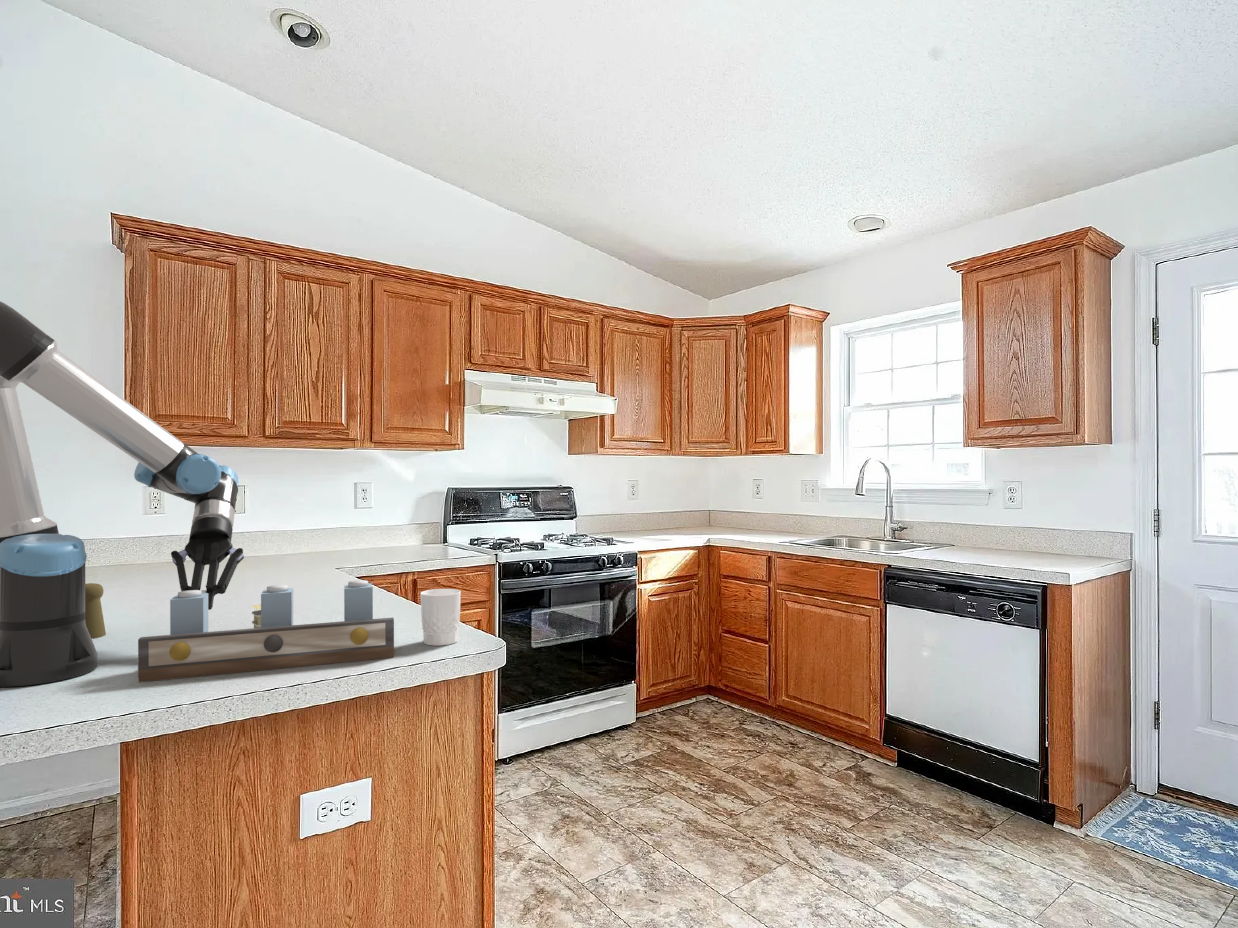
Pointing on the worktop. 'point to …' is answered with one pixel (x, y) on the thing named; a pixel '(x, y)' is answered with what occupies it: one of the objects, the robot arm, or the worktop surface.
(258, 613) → the stacked layers on plate
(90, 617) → the cork
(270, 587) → the middle plunger
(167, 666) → the button console
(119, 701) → the worktop surface
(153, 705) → the worktop surface
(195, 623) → the left plunger
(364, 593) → the right plunger
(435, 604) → the white cup
